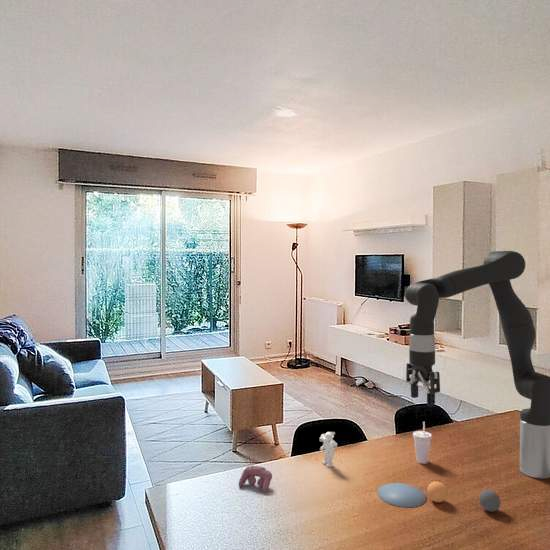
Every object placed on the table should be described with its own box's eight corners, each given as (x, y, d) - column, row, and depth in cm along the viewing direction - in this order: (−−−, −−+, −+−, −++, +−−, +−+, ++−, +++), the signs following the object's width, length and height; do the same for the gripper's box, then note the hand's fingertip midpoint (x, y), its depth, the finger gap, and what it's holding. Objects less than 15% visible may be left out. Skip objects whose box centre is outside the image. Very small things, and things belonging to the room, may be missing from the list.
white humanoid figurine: (339, 468, 156) (339, 433, 156) (329, 470, 154) (329, 435, 154) (326, 458, 164) (326, 424, 164) (316, 460, 163) (316, 426, 162)
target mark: (411, 481, 146) (411, 481, 146) (435, 504, 133) (435, 503, 133) (370, 486, 143) (370, 485, 143) (390, 509, 130) (390, 509, 130)
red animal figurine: (271, 493, 142) (275, 469, 145) (265, 493, 139) (269, 468, 141) (243, 487, 146) (247, 463, 149) (236, 486, 143) (241, 462, 145)
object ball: (440, 495, 138) (440, 477, 137) (451, 504, 132) (451, 486, 132) (423, 497, 136) (423, 479, 136) (433, 507, 131) (433, 488, 131)
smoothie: (432, 466, 157) (433, 425, 157) (413, 464, 159) (413, 424, 158) (430, 458, 164) (430, 419, 163) (411, 456, 165) (411, 418, 165)
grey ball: (491, 504, 133) (491, 485, 132) (504, 514, 127) (505, 494, 127) (474, 506, 131) (474, 487, 131) (487, 516, 126) (487, 496, 126)
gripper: (447, 352, 134) (447, 407, 135) (419, 343, 148) (419, 393, 148) (425, 353, 132) (425, 409, 133) (398, 345, 146) (399, 395, 146)
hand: (422, 401), depth 140 cm, fingers open, 8 cm apart
